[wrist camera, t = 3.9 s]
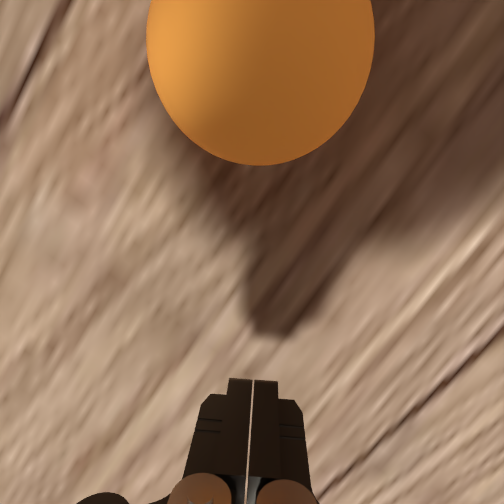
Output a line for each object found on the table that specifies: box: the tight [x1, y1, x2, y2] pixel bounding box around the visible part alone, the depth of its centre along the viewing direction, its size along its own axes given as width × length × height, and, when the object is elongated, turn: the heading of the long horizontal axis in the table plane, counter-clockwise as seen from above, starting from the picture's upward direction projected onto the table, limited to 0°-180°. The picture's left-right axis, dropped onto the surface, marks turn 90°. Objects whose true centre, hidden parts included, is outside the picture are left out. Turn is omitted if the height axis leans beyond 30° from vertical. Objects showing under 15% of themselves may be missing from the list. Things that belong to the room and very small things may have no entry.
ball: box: [146, 0, 375, 166], centre depth 9 cm, size 5×5×5 cm
